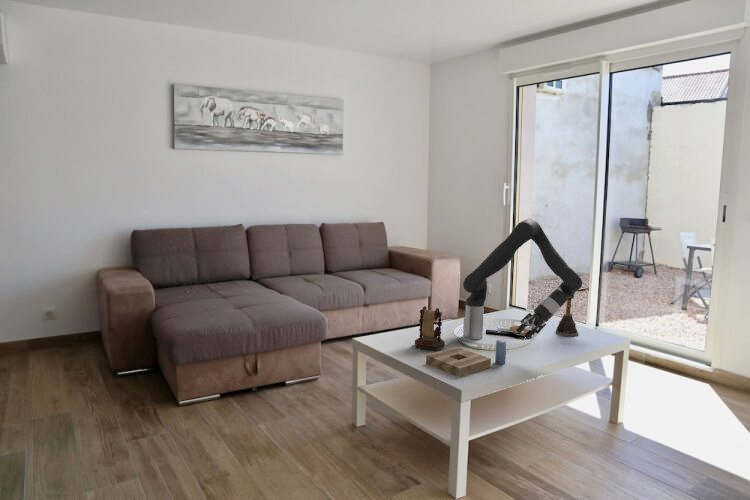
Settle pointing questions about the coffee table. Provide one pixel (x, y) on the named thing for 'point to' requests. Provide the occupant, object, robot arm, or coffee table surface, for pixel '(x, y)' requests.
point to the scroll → (430, 330)
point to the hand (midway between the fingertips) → (521, 334)
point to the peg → (500, 352)
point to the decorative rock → (513, 328)
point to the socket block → (458, 361)
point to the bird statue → (569, 319)
